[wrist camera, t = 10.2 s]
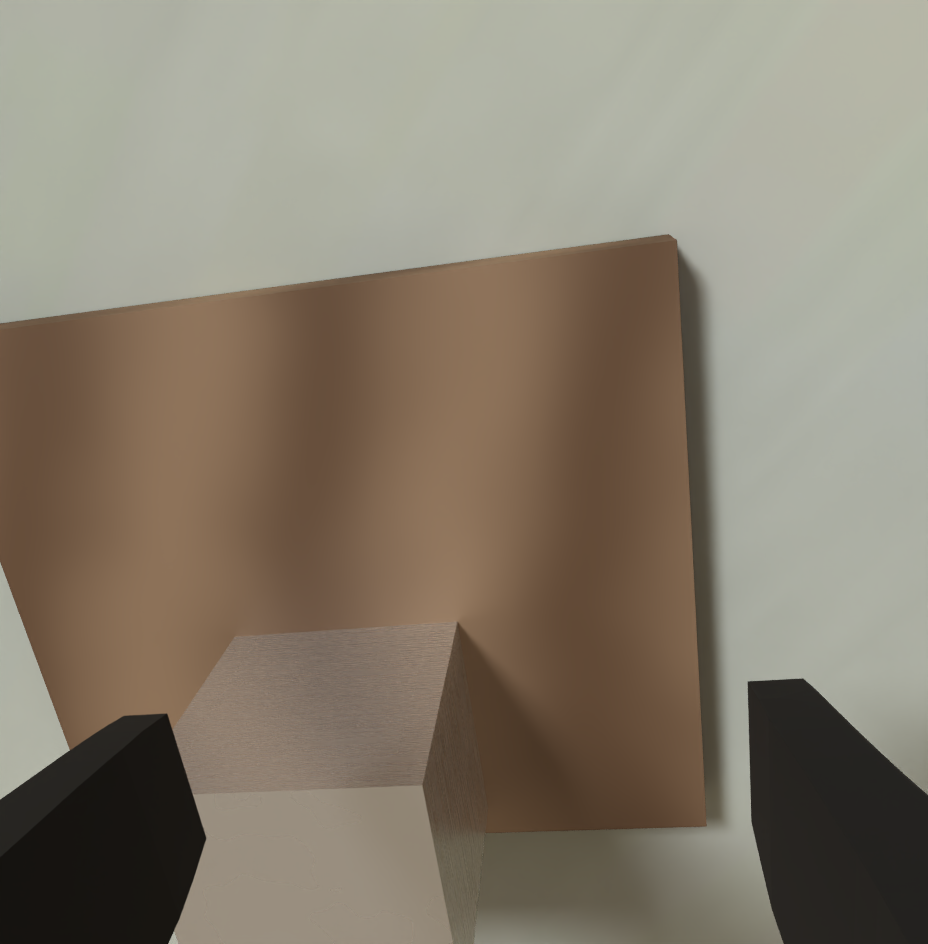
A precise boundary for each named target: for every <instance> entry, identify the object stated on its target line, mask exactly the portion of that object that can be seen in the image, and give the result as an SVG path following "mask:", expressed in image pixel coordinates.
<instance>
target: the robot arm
mask: <svg viewBox="0 0 928 944" xmlns="http://www.w3.org/2000/svg"><path fill="white" fill-rule="evenodd" d="M748 708H749V745H750V782H751V819H752V826H753V830H754V834H755V839H756V843H757V848H758V852H759V856H760V861H761V865H762V870H763V874H764V878H765V882H766V886H767V891H768V895H769V899H770V903H771V907H772V911H773V914H774V916H775V919H776V922H777V925H778V928H779V931H780V934H781V937H782V940H783V943H784V944H928V795H927V794H926V793H925V792H924V791H922V790H921V789H920V788H919V787H918V786H917V785H916V784H915V783H913V782H912V781H911V780H910V779H909V778H908V777H907V776H905V775H904V774H903V773H902V772H901V771H900V770H899V769H898V768H897V767H896V766H894V765H893V764H892V763H891V762H890V761H889V760H888V759H887V758H886V757H885V756H884V755H883V754H881V753H880V752H879V751H878V750H877V749H876V748H875V747H874V746H873V745H872V744H871V743H870V742H869V741H868V740H867V739H866V738H865V737H864V736H863V735H861V734H860V733H859V732H858V731H857V730H856V729H855V728H854V727H853V726H852V725H851V724H850V723H849V722H848V721H847V720H846V719H845V718H844V717H843V716H842V715H841V714H840V713H839V712H838V711H837V710H836V709H835V708H834V707H833V706H832V705H831V704H830V703H829V702H828V701H827V700H826V699H825V698H824V697H823V696H822V695H821V694H820V693H819V692H818V691H816V690H815V689H814V688H813V687H812V686H811V685H810V684H809V683H808V682H806V681H805V680H804V679H786V680H768V681H750V682H748ZM206 839H207V838H206V835H205V832H204V828H203V825H202V822H201V819H200V816H199V813H198V809H197V806H196V803H195V800H194V797H193V793H192V790H191V787H190V784H189V781H188V778H187V774H186V771H185V768H184V765H183V762H182V759H181V755H180V752H179V749H178V746H177V743H176V740H175V736H174V733H173V730H172V727H171V724H170V720H169V717H168V714H167V713H165V714H147V715H129V716H122V717H121V718H119V719H117V720H116V721H114V722H112V723H111V724H109V725H107V726H106V727H104V728H103V729H101V730H99V731H98V732H96V733H95V734H93V735H92V736H90V737H89V738H87V739H86V740H84V741H83V742H81V743H80V744H79V745H77V746H76V747H74V748H73V749H71V750H70V751H68V752H67V753H66V754H64V755H63V756H61V757H60V758H58V759H57V760H56V761H54V762H53V763H51V764H50V765H49V766H47V767H46V768H44V769H43V770H41V771H40V772H39V773H37V774H36V775H34V776H33V777H32V778H30V779H29V780H27V781H26V782H25V783H23V784H22V785H20V786H19V787H18V788H16V789H15V790H13V791H12V792H10V793H9V794H8V795H6V796H5V797H3V798H2V799H1V800H0V944H168V943H169V941H170V939H171V936H172V934H173V932H174V930H175V928H176V925H177V923H178V921H179V919H180V916H181V914H182V911H183V908H184V905H185V902H186V900H187V897H188V894H189V891H190V888H191V885H192V883H193V880H194V876H195V873H196V870H197V867H198V864H199V861H200V858H201V854H202V851H203V848H204V845H205V842H206Z"/></svg>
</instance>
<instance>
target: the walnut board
mask: <svg viewBox="0 0 928 944" xmlns="http://www.w3.org/2000/svg"><path fill="white" fill-rule="evenodd" d="M0 562H1V565H2V568H3V570H4V573H5V576H6V579H7V581H8V584H9V587H10V589H11V592H12V595H13V598H14V600H15V603H16V606H17V608H18V611H19V614H20V616H21V619H22V622H23V625H24V627H25V630H26V633H27V635H28V638H29V641H30V643H31V646H32V649H33V652H34V654H35V657H36V660H37V662H38V665H39V668H40V670H41V673H42V676H43V679H44V681H45V684H46V687H47V689H48V692H49V695H50V697H51V700H52V703H53V706H54V708H55V711H56V714H57V716H58V719H59V722H60V725H61V727H62V730H63V733H64V735H65V738H66V741H67V743H68V746H69V749H70V750H71V749H73V748H74V747H76V746H77V745H79V744H80V743H81V742H83V741H84V740H86V739H87V738H89V737H90V736H92V735H93V734H95V733H96V732H98V731H99V730H101V729H103V728H104V727H106V726H107V725H109V724H111V723H112V722H114V721H116V720H117V719H119V718H121V717H122V716H129V715H147V714H165V713H167V714H168V717H169V720H170V724H171V727H172V730H173V728H174V727H175V725H176V724H177V722H178V721H179V719H180V718H181V716H182V715H183V713H184V712H185V710H186V709H187V707H188V706H189V704H190V703H191V701H192V700H193V698H194V697H195V695H196V694H197V692H198V691H199V689H200V688H201V686H202V685H203V683H204V682H205V680H206V679H207V677H208V676H209V674H210V673H211V671H212V670H213V668H214V667H215V665H216V664H217V662H218V661H219V660H220V658H221V657H222V655H223V654H224V652H225V651H226V649H227V648H228V646H229V645H230V643H231V642H232V640H233V639H234V637H240V636H255V635H269V634H284V633H298V632H313V631H328V630H342V629H357V628H371V627H386V626H400V625H415V624H430V623H444V622H458V628H459V635H460V641H461V647H462V653H463V659H464V665H465V671H466V677H467V683H468V689H469V696H470V702H471V708H472V714H473V720H474V726H475V732H476V738H477V744H478V750H479V756H480V763H481V769H482V775H483V781H484V787H485V793H486V799H487V805H488V813H487V823H486V832H485V833H502V832H535V831H568V830H601V829H634V828H668V827H701V826H707V825H706V806H705V786H704V766H703V747H702V727H701V707H700V688H699V668H698V648H697V629H696V609H695V589H694V570H693V550H692V530H691V511H690V491H689V471H688V452H687V432H686V412H685V393H684V373H683V353H682V334H681V314H680V294H679V275H678V255H677V240H676V239H674V238H673V237H672V236H670V235H669V234H668V235H661V236H653V237H646V238H638V239H631V240H623V241H616V242H608V243H601V244H593V245H586V246H578V247H571V248H563V249H556V250H548V251H541V252H533V253H526V254H518V255H511V256H503V257H496V258H488V259H481V260H473V261H466V262H458V263H451V264H443V265H436V266H428V267H421V268H413V269H406V270H398V271H391V272H383V273H376V274H368V275H361V276H353V277H346V278H338V279H331V280H323V281H316V282H308V283H301V284H293V285H286V286H278V287H271V288H263V289H256V290H248V291H241V292H233V293H226V294H218V295H211V296H203V297H196V298H188V299H181V300H173V301H166V302H158V303H151V304H143V305H136V306H128V307H121V308H113V309H106V310H99V311H91V312H84V313H76V314H69V315H61V316H54V317H46V318H39V319H31V320H24V321H16V322H9V323H1V324H0Z"/></svg>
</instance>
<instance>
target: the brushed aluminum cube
mask: <svg viewBox="0 0 928 944" xmlns="http://www.w3.org/2000/svg"><path fill="white" fill-rule="evenodd" d="M173 733H174V736H175V740H176V743H177V746H178V749H179V752H180V755H181V759H182V762H183V765H184V768H185V771H186V774H187V778H188V781H189V784H190V787H191V790H192V793H193V797H194V800H195V803H196V806H197V809H198V813H199V816H200V819H201V822H202V825H203V828H204V832H205V835H206V838H207V839H206V842H205V845H204V848H203V851H202V854H201V858H200V861H199V864H198V867H197V870H196V873H195V876H194V880H193V883H192V885H191V888H190V891H189V894H188V897H187V900H186V902H185V905H184V908H183V911H182V914H181V916H180V919H179V921H178V923H177V925H176V928H175V930H174V932H175V935H176V938H177V940H178V943H179V944H474V936H475V926H476V917H477V907H478V898H479V888H480V879H481V870H482V860H483V851H484V841H485V832H486V823H487V813H488V805H487V799H486V793H485V787H484V781H483V775H482V769H481V763H480V756H479V750H478V744H477V738H476V732H475V726H474V720H473V714H472V708H471V702H470V696H469V689H468V683H467V677H466V671H465V665H464V659H463V653H462V647H461V641H460V635H459V628H458V622H444V623H430V624H415V625H400V626H386V627H371V628H357V629H342V630H328V631H313V632H298V633H284V634H269V635H255V636H240V637H234V639H233V640H232V642H231V643H230V645H229V646H228V648H227V649H226V651H225V652H224V654H223V655H222V657H221V658H220V660H219V661H218V662H217V664H216V665H215V667H214V668H213V670H212V671H211V673H210V674H209V676H208V677H207V679H206V680H205V682H204V683H203V685H202V686H201V688H200V689H199V691H198V692H197V694H196V695H195V697H194V698H193V700H192V701H191V703H190V704H189V706H188V707H187V709H186V710H185V712H184V713H183V715H182V716H181V718H180V719H179V721H178V722H177V724H176V725H175V727H174V728H173Z"/></svg>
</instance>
